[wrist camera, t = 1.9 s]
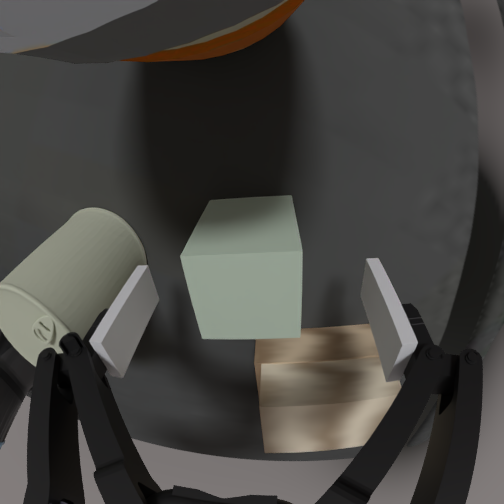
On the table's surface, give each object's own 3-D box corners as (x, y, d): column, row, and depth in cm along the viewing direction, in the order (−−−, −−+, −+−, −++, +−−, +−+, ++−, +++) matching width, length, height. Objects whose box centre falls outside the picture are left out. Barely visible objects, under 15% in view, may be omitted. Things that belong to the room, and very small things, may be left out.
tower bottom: (263, 394, 34) (262, 423, 30) (256, 327, 28) (254, 362, 24) (360, 387, 33) (365, 415, 29) (382, 319, 27) (395, 352, 23)
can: (167, 260, 24) (110, 373, 14) (116, 306, 27) (66, 398, 17) (92, 185, 21) (-8, 263, 10) (53, 246, 24) (-18, 323, 14)
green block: (220, 267, 24) (202, 338, 17) (209, 200, 21) (180, 256, 14) (293, 265, 23) (300, 337, 17) (291, 195, 20) (302, 250, 14)
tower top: (266, 420, 30) (264, 453, 26) (261, 363, 24) (259, 406, 20) (363, 413, 29) (368, 444, 25) (390, 354, 23) (403, 393, 19)
